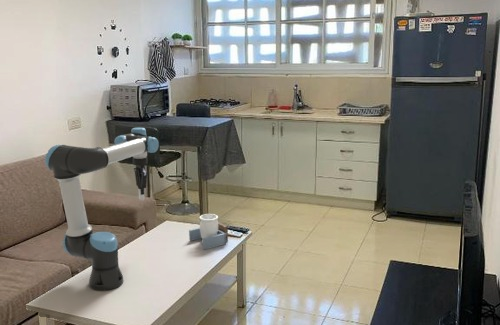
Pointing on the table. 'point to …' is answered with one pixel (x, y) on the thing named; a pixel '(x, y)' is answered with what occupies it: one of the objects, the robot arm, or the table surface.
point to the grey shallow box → (208, 238)
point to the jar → (208, 225)
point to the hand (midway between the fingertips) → (141, 199)
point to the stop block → (223, 229)
